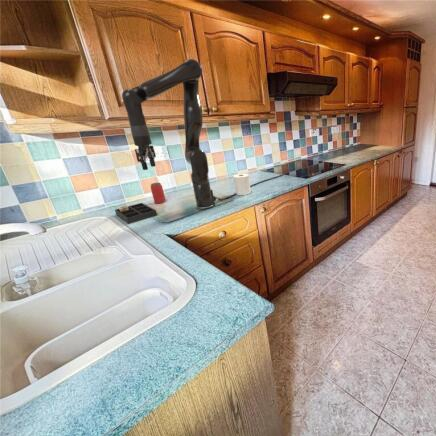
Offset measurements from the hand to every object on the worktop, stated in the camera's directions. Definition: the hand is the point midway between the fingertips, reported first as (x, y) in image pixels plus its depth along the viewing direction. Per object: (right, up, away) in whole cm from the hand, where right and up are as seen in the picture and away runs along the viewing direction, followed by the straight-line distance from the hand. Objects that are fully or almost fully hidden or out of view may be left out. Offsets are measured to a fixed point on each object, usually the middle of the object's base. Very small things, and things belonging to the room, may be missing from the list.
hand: (149, 168), depth 132 cm
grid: (-14, -24, +12) cm, 31 cm away
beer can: (-11, -16, +32) cm, 37 cm away
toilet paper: (+40, -9, +41) cm, 58 cm away
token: (-22, -23, +14) cm, 35 cm away
